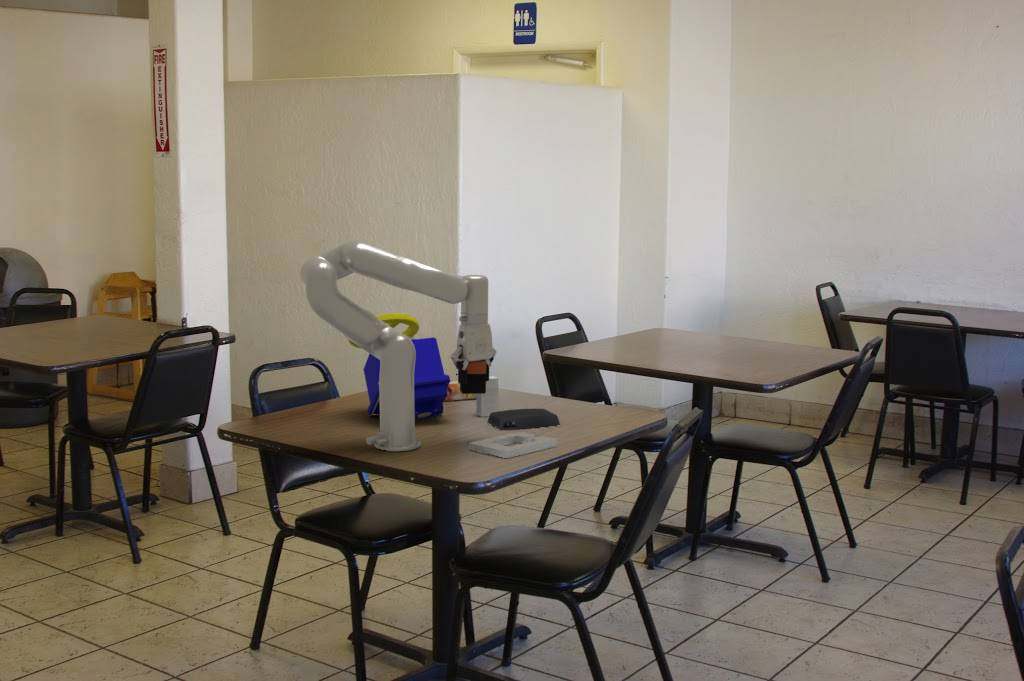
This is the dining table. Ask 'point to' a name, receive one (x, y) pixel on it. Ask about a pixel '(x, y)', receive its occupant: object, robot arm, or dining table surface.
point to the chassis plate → (526, 439)
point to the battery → (475, 378)
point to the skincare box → (488, 398)
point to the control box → (426, 374)
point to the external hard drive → (522, 419)
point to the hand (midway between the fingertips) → (473, 381)
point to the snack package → (457, 392)
